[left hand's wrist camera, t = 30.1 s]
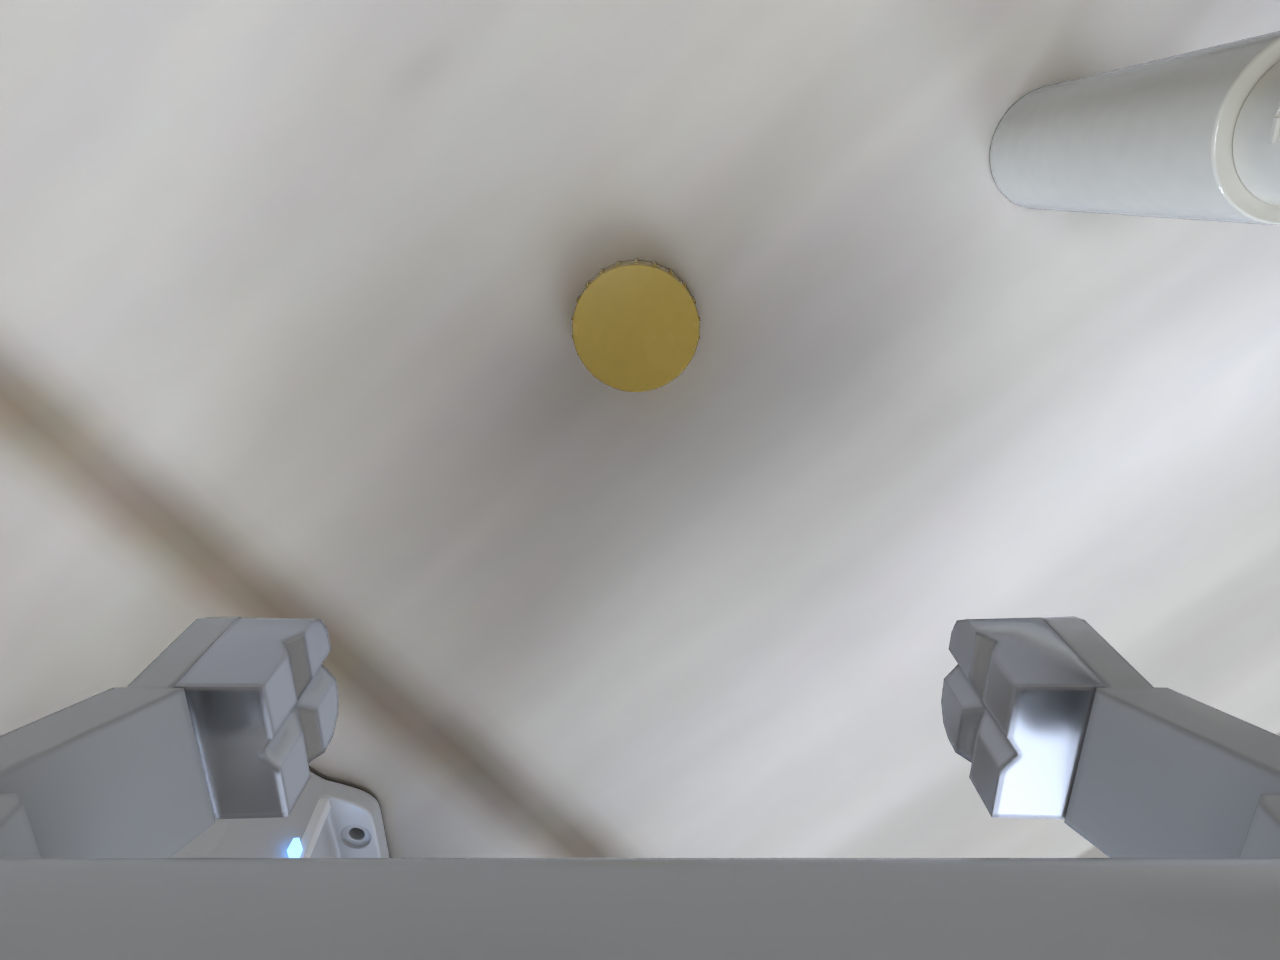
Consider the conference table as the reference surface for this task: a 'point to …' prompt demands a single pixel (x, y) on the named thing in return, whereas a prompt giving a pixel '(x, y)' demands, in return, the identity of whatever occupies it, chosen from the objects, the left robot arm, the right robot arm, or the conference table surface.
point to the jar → (1153, 139)
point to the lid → (635, 326)
